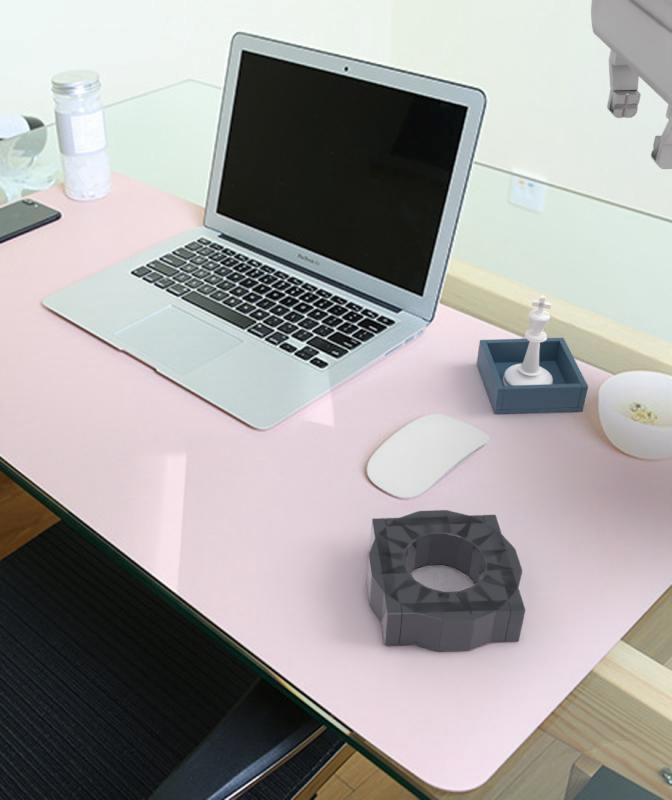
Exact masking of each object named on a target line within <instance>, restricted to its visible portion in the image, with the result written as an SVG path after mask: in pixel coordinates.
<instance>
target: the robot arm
mask: <svg viewBox="0 0 672 800" xmlns="http://www.w3.org/2000/svg"><path fill="white" fill-rule="evenodd" d="M590 19H591V28H592V33H593V34H594V35H595V36H596V37H597V38H598V39H599V40H600V41H601V42H602V43H604V44H605V45H606V46H607V48H609V49H610V52H609V56H608V75H609V88H610V90H609V94H608V100H607V105H606V109H607V110H608V111H609V112H610V114H612V115H613V117H614V118H616V119H622V118H624V119H625V118H626V119H630V118H633V117H635V116H636V115H637V113H638V106H639V103H640V100H641V93H640V91H639V90H638V89H639V78H640V79H641V80H642V81H643V82H644V83H645V84H646V85H647V86H648V87H650V88H651V89H652V91H654V93H656V94H657V95H658V96H659V97H660V98H661V99H662V100H663V101H664V102H665V103H666V104H667V109H666V113H665V118H667V120H668V121H667V123H666V125H665V126H664V127H665V128H664V129H663V131H662V133H661V135H655V136H654V140H653V146H652V150H651V154H650V157H651V159H652V160H653V162H654V163H655V164H656V165H657V166H658V167H659V168H660V169H661V170H672V0H591V4H590Z"/></svg>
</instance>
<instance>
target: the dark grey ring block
mask: <svg viewBox="0 0 672 800" xmlns="http://www.w3.org/2000/svg"><path fill="white" fill-rule="evenodd" d="M369 545H370V546H369V552H368V557H367V574H366V590H367V596H368V603H369V608H370V609H371V610H372V612H373V613H374V614H375V616H376V617H377V618H378V620H379V622H380V623H381V629H382V635H383V643H384V646H417V647H420V648H424V649H427V650H431V651H434V652H439V653H441V652H467V651H468V652H469V651H472V650H474V649H477V648H479V647H482V646H484V645H487V644H489V643H503V642H505V643H506V642H507V643H510V642H519V641H520V637H521V633H522V628H523V624H524V618H525V614H526V607H525V604H524V601H523V597H522V594H521V591H520V585H521V581H522V576H523V567H522V565H521V563H520V562H521V561H520V559H519V556H518V553H517V550H516V548H515V547H514V545H512V544H511V542H510V541H509V540H508V539H507V538H506V537H505V536H504V535H503V533H502V531H501V528H500V523H499V522H498V517H497V515H496V514H473V515H469V514H465V513H460V512H456V511H453V510H452V511H451V510H448V509H436V510H418V511H415V512H412V513H409V514H406V515H403V516H400V517H381V518H380V517H379V518H375V517H374V518H372V519H371V530H370V543H369ZM428 565H429V566H431V565H443V566H447V567H450V568H455V569H457V570H459V571H461V572H462V573H464V574H466V575H467V576H469V577H470V578H471V580H472V581H473V582H474V583H475V585H473V586H471V587H467V588H465V589H462V590H459V591H441V590H437V589H434V588H431V587H427V586H426V585H424V584H422V583H420V582H419V581H417V580H416V579H415V578H414V577H413V575H412V574H411V573H412V572H413V571H414V570H416V569H418V568H421V567H424V566H428Z"/></svg>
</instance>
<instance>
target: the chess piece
mask: <svg viewBox="0 0 672 800" xmlns="http://www.w3.org/2000/svg"><path fill="white" fill-rule="evenodd" d="M531 307H535V308H536V309H532V310H530V311H529V313H528V320H529V324H530V329H527V330H526V331H525V333H524V339H527V340H529V341H530V342H529V345H528V349H527V352H526V355H525V358H524V361H523V363H522V364H516V365H513V366H511V367H509V368H508V369H507V370H506V371H505V373H504V376H503V383H504V385H505V386H511V385H545V384H553V378H552V376H551V374H550V373H549V372H548V371H547V370H546V369H544V368H542V367H540V366H539V348H540V342H544V341H546V339H547V338H548V335H547V333H546V332H545V331H544V329H545V328H546V325H548V323H549V321H550V318H551V314H550V313H549V312H548V311H546V310H551V307H552V302H549V301H546V295H540V297H539V300H536V299H533V300H532V303H531ZM545 309H546V310H545Z"/></svg>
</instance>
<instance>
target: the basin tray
mask: <svg viewBox="0 0 672 800" xmlns="http://www.w3.org/2000/svg"><path fill="white" fill-rule="evenodd" d="M529 342H530V341H529V340H527V339H526V338H501V339H500V338H499V339H479V344H478V351H477V357H476V366H477V368H478V371H479V374H480V377H481V380H482V383H483V386H484V388H485V391H486V394H487V396H488V400H489V403H490V405H491V408H492V411H493V414H494V415H502V414H503V415H504V414H531V413H532V414H534V413H535V414H536V413H565V412H566V413H569V412H584V407H585V403H586V399H587V394H588V389H589V385H588V383H587V381H586V379H585V377H584V376H583V373H582V371H581V369H580V367H579V365H578V363H577V362H576V359H575V357H574V356H573V353H572V352H571V350H570V347H569V346H568V344H567V342H566V339H565V338H564V337H547V339H546V341H544V342H540V348H539V366H540V367H542V368H544V369H546V370H547V371H548V372H549V373H550V374H551V376H552V378H553V384H545V385H511V386H505V385H504V383H503V376H504V373H505V371H506V370H507V369H508V368H509V367H511V366H513V365H516V364H522V363H523V361H524V358H525V355H526V352H527V349H528V345H529Z"/></svg>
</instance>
